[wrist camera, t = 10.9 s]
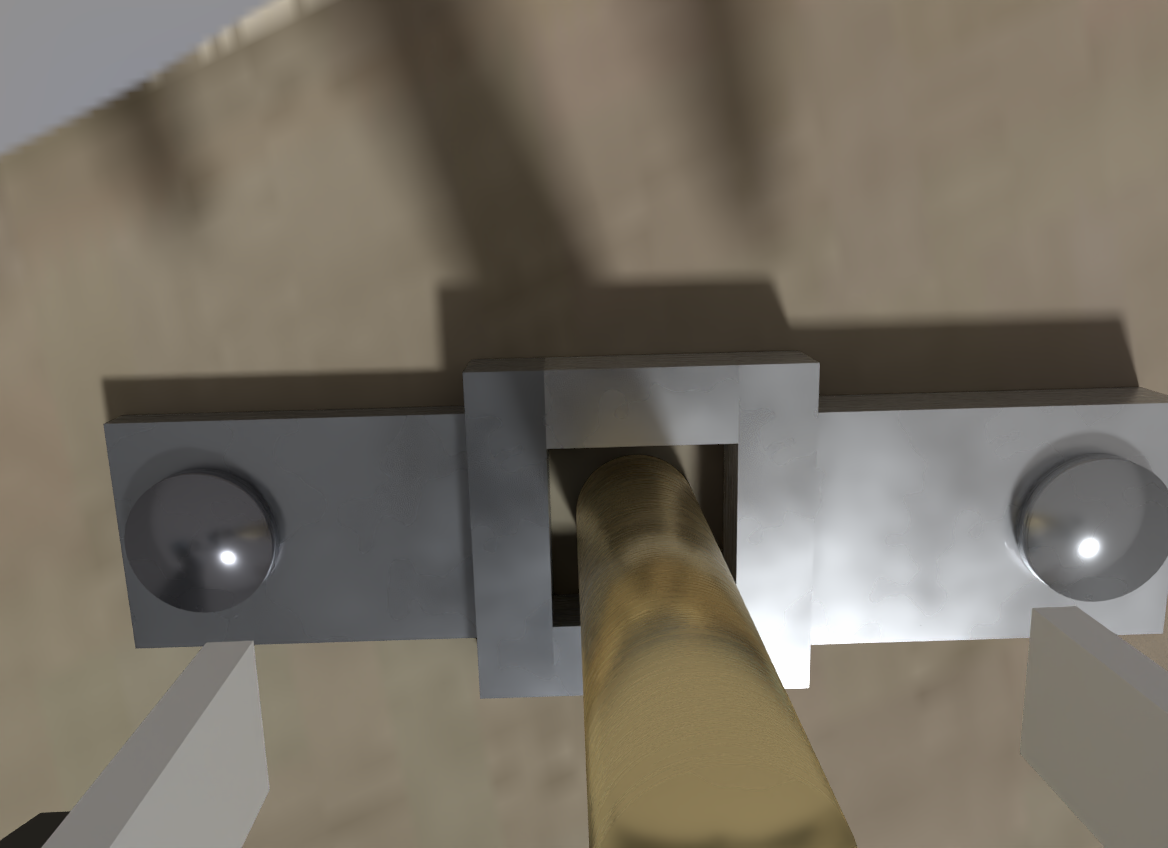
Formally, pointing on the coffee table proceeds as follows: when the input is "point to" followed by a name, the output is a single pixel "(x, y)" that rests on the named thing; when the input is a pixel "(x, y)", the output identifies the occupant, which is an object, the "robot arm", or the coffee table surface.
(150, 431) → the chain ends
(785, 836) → the pin
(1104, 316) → the coffee table surface
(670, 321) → the coffee table surface
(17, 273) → the coffee table surface
